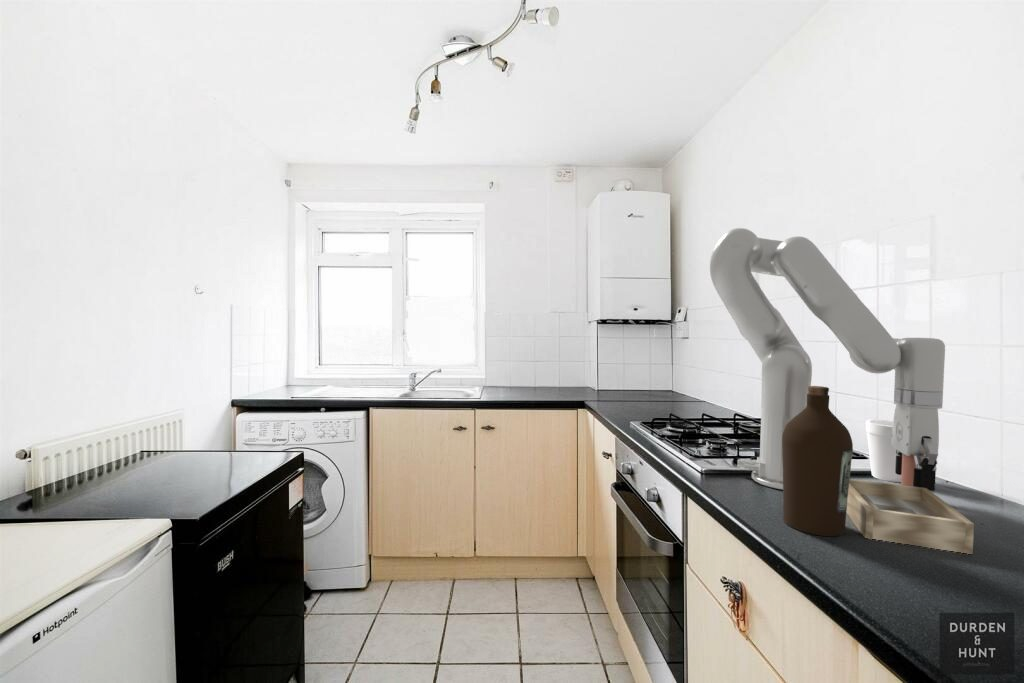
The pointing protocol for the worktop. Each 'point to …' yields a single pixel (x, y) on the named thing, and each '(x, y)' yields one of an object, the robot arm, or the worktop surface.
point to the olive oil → (816, 468)
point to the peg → (908, 470)
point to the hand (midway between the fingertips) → (913, 481)
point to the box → (907, 516)
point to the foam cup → (882, 450)
